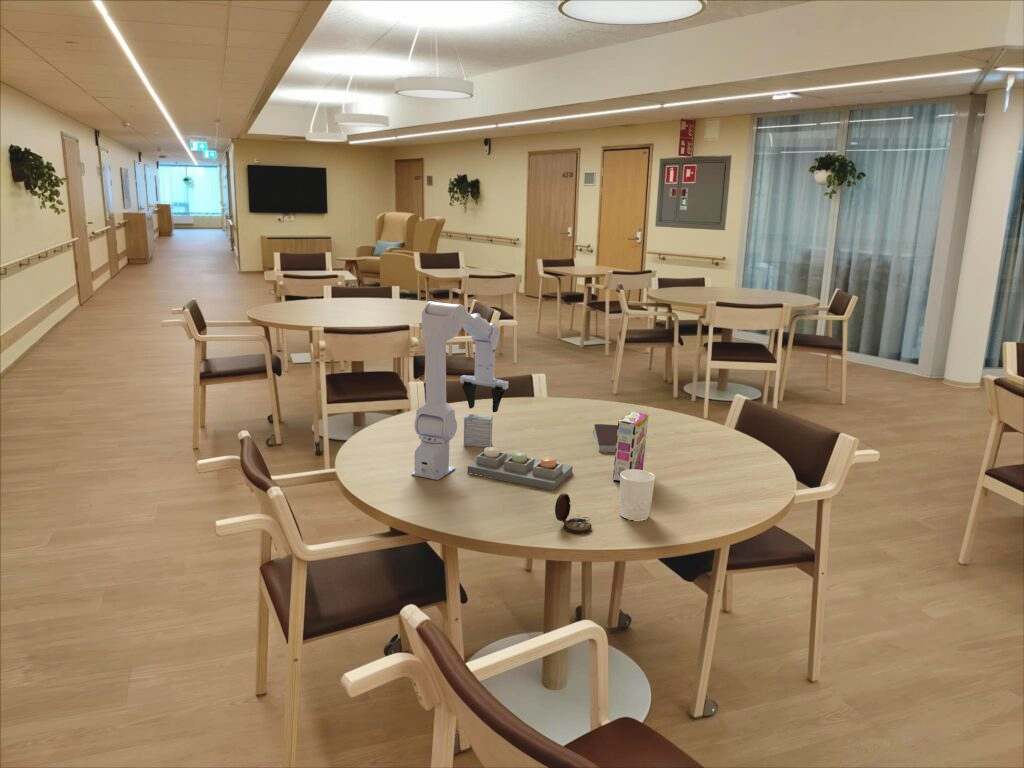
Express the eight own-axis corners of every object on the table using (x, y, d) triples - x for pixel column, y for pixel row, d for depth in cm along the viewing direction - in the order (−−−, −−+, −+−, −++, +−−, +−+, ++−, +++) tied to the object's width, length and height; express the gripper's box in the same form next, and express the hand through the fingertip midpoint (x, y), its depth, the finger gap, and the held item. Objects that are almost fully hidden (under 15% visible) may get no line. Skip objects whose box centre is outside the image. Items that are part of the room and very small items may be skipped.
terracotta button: (552, 470, 190) (552, 463, 190) (537, 468, 192) (538, 460, 191) (557, 466, 194) (558, 458, 193) (543, 463, 195) (543, 456, 195)
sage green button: (523, 465, 193) (523, 458, 193) (509, 462, 195) (509, 455, 194) (529, 460, 197) (529, 453, 196) (515, 458, 198) (515, 450, 198)
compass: (584, 537, 162) (586, 506, 160) (552, 528, 166) (553, 497, 164) (600, 524, 168) (602, 494, 167) (568, 515, 172) (570, 486, 170)
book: (633, 435, 235) (633, 425, 234) (641, 455, 216) (642, 445, 215) (592, 433, 235) (593, 423, 234) (597, 454, 216) (598, 443, 216)
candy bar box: (630, 485, 192) (635, 424, 188) (612, 481, 194) (616, 420, 190) (644, 472, 202) (649, 413, 198) (626, 468, 204) (631, 410, 200)
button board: (553, 490, 186) (554, 475, 186) (467, 473, 196) (467, 458, 195) (572, 473, 199) (573, 458, 198) (490, 457, 208) (491, 443, 207)
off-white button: (495, 460, 196) (495, 452, 196) (481, 457, 198) (481, 450, 197) (501, 455, 200) (501, 448, 199) (488, 453, 201) (488, 445, 201)
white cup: (647, 509, 178) (651, 469, 175) (654, 523, 170) (658, 482, 167) (614, 508, 177) (617, 468, 175) (620, 522, 170) (623, 481, 167)
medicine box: (492, 443, 220) (493, 415, 218) (490, 448, 216) (491, 419, 214) (465, 441, 221) (466, 413, 219) (463, 446, 217) (463, 417, 215)
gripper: (513, 364, 216) (511, 410, 219) (468, 358, 221) (467, 402, 225) (503, 369, 209) (501, 415, 213) (457, 362, 215) (456, 408, 218)
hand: (483, 409), depth 218 cm, fingers open, 7 cm apart
